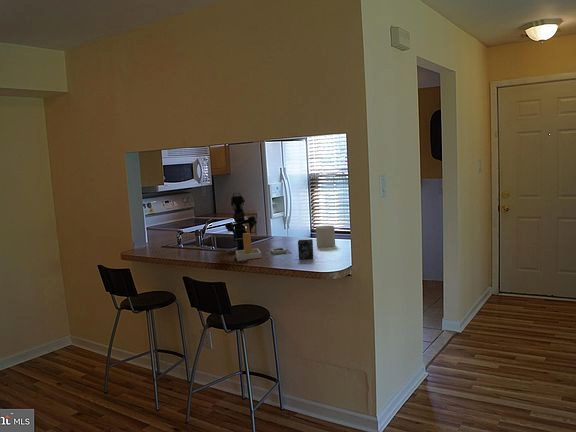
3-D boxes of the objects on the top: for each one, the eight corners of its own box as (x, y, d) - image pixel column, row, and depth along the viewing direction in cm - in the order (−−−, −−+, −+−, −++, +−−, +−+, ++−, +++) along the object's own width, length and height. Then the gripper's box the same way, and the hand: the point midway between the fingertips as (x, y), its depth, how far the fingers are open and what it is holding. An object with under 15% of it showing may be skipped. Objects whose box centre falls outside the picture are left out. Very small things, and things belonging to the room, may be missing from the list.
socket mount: (265, 253, 312) (264, 248, 312) (287, 250, 315) (287, 246, 314) (268, 257, 299) (268, 252, 298) (292, 255, 301) (291, 250, 301)
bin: (235, 257, 307) (235, 250, 306) (258, 254, 309) (257, 248, 309) (238, 261, 293) (237, 255, 293) (261, 259, 296) (260, 252, 295)
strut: (246, 256, 304) (244, 232, 302) (253, 256, 303) (251, 232, 301) (243, 257, 300) (241, 234, 298) (250, 257, 298) (248, 234, 297)
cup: (334, 247, 316) (333, 228, 314) (315, 247, 318) (314, 229, 316) (336, 243, 327) (335, 225, 325) (318, 244, 329) (317, 226, 328)
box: (298, 259, 287) (297, 241, 286) (300, 257, 293) (298, 239, 291) (312, 259, 286) (311, 240, 285) (313, 257, 292) (312, 239, 290)
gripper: (220, 212, 308) (224, 234, 301) (250, 203, 306) (254, 226, 299) (226, 219, 318) (230, 241, 310) (254, 211, 316) (259, 233, 309)
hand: (243, 235), depth 307 cm, fingers open, 9 cm apart
